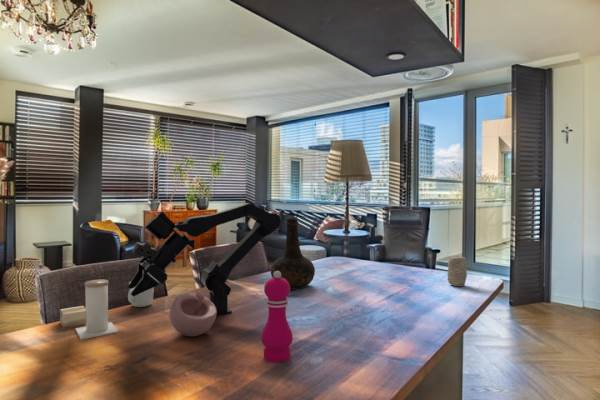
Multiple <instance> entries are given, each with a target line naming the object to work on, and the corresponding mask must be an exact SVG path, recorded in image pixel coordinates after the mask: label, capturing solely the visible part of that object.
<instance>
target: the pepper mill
mask: <svg viewBox="0 0 600 400" xmlns="http://www.w3.org/2000/svg"><path fill="white" fill-rule="evenodd" d="M273 275H274V278H272V277H271V278H269V279H268V280H267V281H266V282H265V284H264V289H263V291H264V292H263V293H264V294H265V296H266V297H267V298H266V306H267V308H268V316H267V321H266V322H265V325H264V327H263V330H262V334H261V343H262V345H263V346H264V347H265V348H263V359H264V360H265V361H266V362H271V363H283V362H287V361H289V360H290V359H291V348H290V346H291V345H292V343H293V340H294V338H293V332H292V329H291V326H290V325H289V322H288V319H287V314H286V313H287V312H286V310H287V306H288V305H289V299H288V296H289V295H290V292H291V289H290V285H289V283H288V281H287V280H286V279H284V278H281V273H280V272H279V271H275V272H274V274H273Z"/></svg>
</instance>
